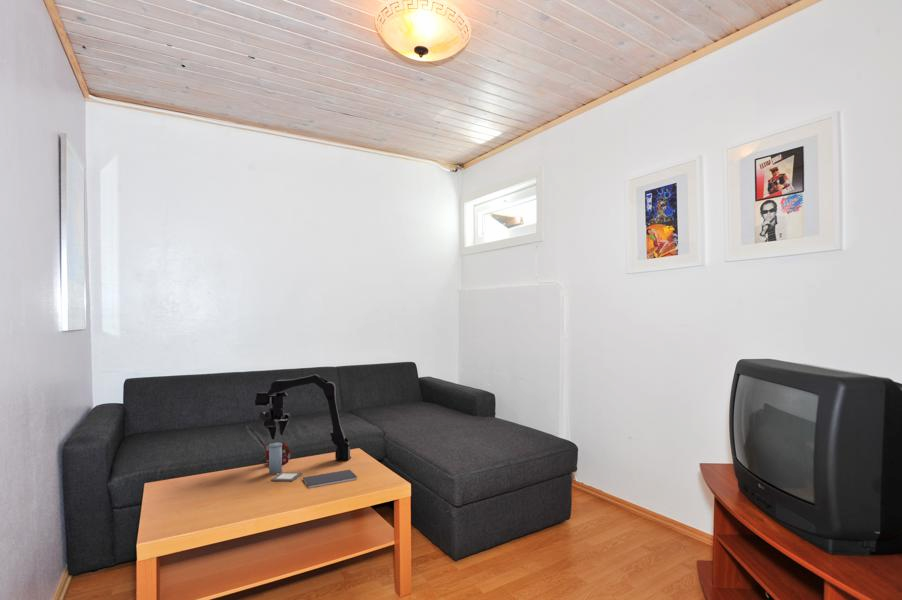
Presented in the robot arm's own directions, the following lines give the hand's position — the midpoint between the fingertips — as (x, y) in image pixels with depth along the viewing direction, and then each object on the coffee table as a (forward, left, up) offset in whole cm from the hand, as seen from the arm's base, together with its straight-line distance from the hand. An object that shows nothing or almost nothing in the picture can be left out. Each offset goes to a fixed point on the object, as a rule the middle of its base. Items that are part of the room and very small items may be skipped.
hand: (277, 437), depth 231 cm
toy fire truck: (0, -1, -13) cm, 13 cm away
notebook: (-36, +22, -14) cm, 44 cm away
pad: (-15, +20, -13) cm, 28 cm away
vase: (-6, +13, -13) cm, 20 cm away
